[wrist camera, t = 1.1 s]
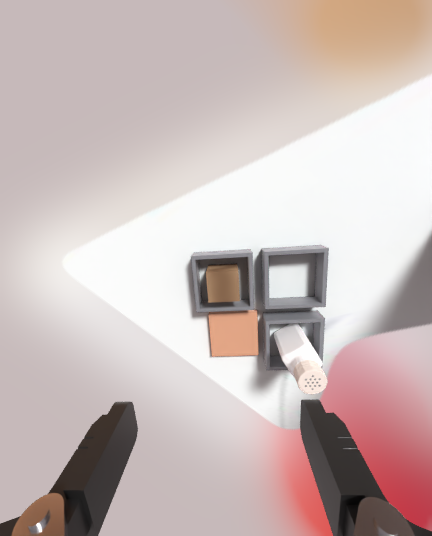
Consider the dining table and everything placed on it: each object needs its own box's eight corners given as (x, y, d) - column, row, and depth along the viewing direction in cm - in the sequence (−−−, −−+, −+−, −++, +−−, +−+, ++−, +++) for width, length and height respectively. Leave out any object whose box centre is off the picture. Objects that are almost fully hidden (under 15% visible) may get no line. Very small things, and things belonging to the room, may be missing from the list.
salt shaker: (284, 351, 35) (305, 403, 25) (271, 331, 34) (287, 377, 25) (308, 339, 34) (338, 387, 25) (294, 318, 33) (320, 360, 24)
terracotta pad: (256, 309, 33) (257, 312, 32) (257, 351, 35) (258, 355, 34) (208, 311, 33) (208, 314, 33) (212, 353, 35) (211, 356, 34)
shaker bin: (317, 310, 33) (324, 318, 30) (315, 357, 34) (322, 368, 32) (262, 312, 33) (265, 320, 31) (263, 359, 35) (266, 370, 33)
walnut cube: (237, 263, 32) (238, 270, 28) (238, 290, 33) (239, 301, 29) (208, 264, 32) (205, 272, 28) (210, 291, 33) (208, 302, 29)
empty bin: (320, 245, 30) (328, 248, 28) (318, 299, 32) (325, 306, 30) (261, 248, 31) (264, 251, 28) (262, 301, 33) (265, 309, 30)
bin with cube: (250, 249, 31) (252, 252, 28) (252, 302, 33) (254, 309, 30) (193, 252, 31) (190, 256, 29) (198, 304, 33) (196, 312, 31)
